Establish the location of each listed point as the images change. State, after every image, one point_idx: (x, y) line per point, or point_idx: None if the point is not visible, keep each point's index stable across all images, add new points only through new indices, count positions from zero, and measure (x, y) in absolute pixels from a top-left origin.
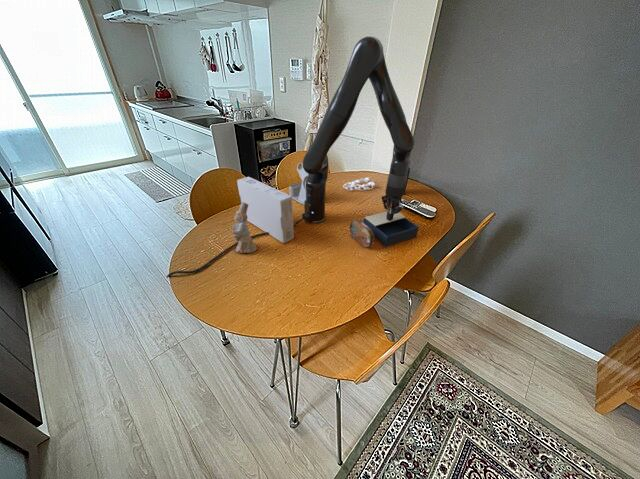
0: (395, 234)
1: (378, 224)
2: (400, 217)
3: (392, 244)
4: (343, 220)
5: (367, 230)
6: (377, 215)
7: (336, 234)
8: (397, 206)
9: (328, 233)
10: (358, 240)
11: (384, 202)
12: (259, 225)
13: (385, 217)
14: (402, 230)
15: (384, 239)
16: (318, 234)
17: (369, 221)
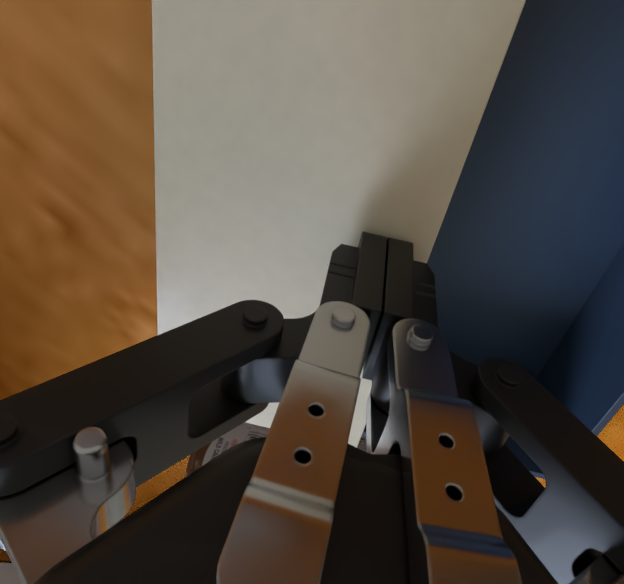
0: (612, 412)
1: (364, 421)
2: (473, 50)
3: (571, 331)
4: (22, 329)
5: None
6: (196, 286)
7: (183, 465)
8: (479, 435)
9: (150, 481)
10: None
11: (164, 466)
12: None
13: (299, 251)
14: (540, 14)
15: None
16: (135, 510)
17: (253, 419)
